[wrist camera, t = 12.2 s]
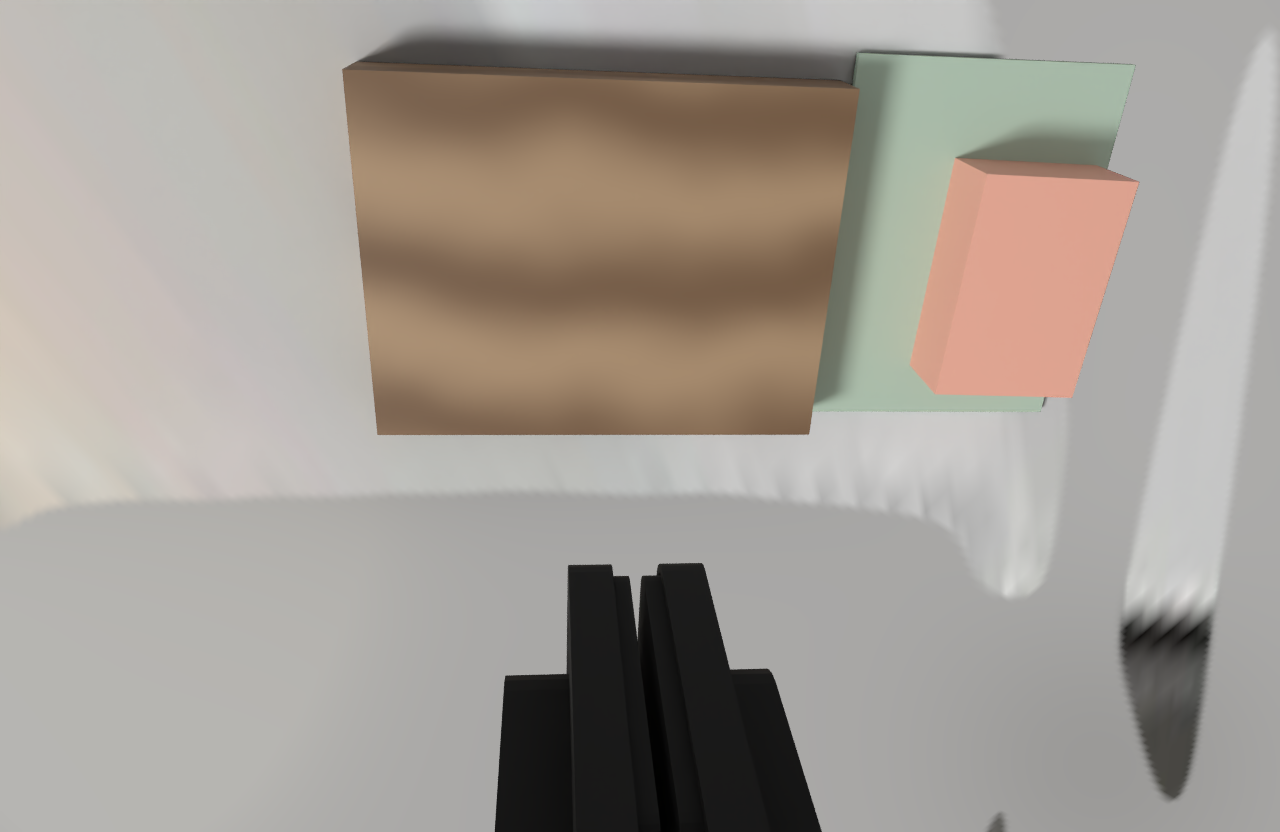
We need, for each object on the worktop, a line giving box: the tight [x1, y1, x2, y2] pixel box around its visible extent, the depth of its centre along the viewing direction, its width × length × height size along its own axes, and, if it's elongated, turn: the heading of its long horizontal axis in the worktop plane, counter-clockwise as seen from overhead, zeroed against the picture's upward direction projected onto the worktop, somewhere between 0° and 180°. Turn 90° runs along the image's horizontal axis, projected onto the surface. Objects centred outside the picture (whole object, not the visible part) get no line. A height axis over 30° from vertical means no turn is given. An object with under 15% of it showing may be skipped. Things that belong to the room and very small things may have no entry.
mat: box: [812, 53, 1136, 412], centre depth 38 cm, size 15×11×1 cm
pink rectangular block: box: [910, 158, 1139, 398], centre depth 37 cm, size 9×6×3 cm, turn 176°
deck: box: [342, 62, 860, 435], centre depth 36 cm, size 14×18×2 cm
